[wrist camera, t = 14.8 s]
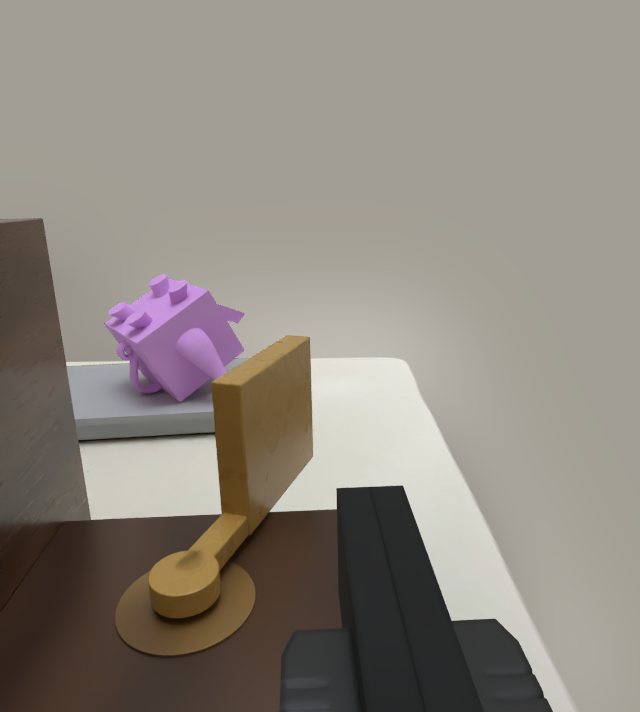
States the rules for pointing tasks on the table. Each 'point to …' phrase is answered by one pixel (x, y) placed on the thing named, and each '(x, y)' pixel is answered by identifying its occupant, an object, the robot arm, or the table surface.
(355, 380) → the table surface
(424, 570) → the robot arm
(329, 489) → the table surface
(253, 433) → the lever
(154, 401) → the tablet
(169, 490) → the table surface
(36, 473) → the case
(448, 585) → the table surface
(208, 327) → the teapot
